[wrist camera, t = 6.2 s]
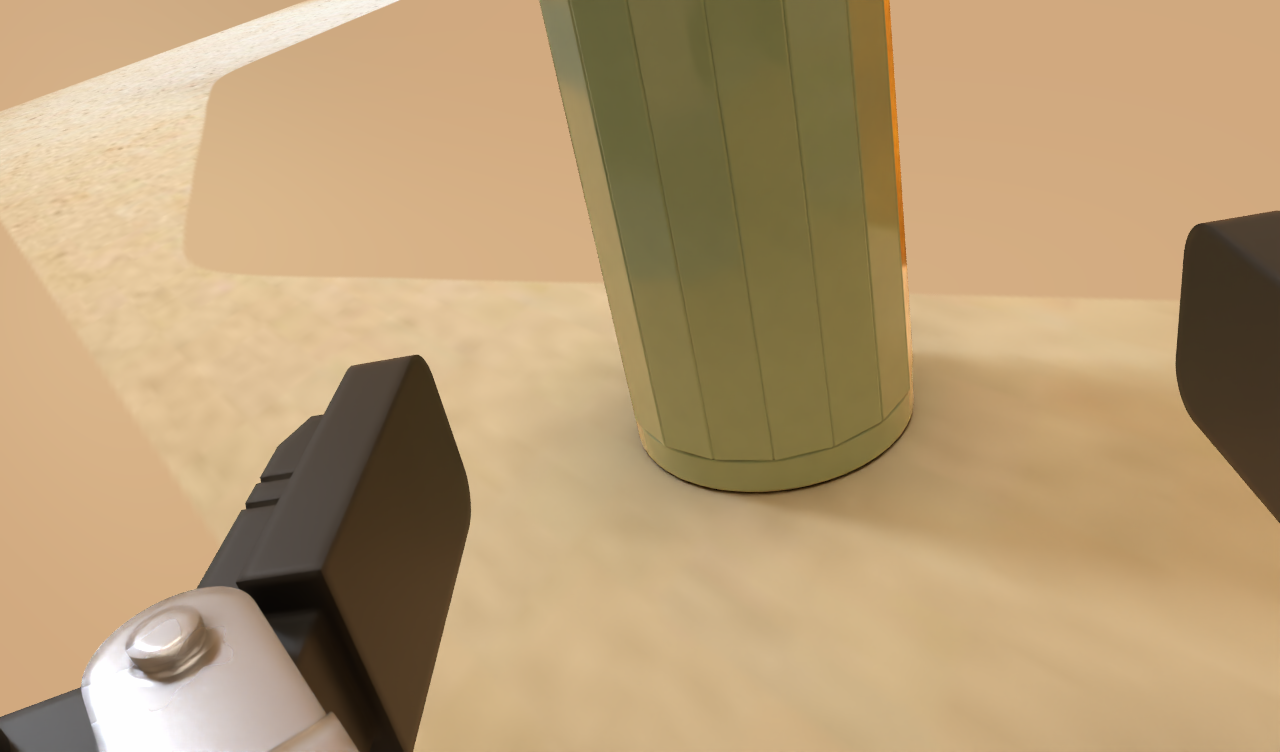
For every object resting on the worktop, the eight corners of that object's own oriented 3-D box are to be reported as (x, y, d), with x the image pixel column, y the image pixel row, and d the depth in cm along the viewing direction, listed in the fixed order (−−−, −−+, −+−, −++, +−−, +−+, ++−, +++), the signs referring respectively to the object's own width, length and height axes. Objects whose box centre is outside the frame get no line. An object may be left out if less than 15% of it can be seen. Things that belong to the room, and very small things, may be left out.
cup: (736, 534, 20) (638, 0, 15) (594, 410, 25) (484, -21, 20) (976, 406, 22) (960, -100, 17) (799, 316, 27) (747, -95, 22)
